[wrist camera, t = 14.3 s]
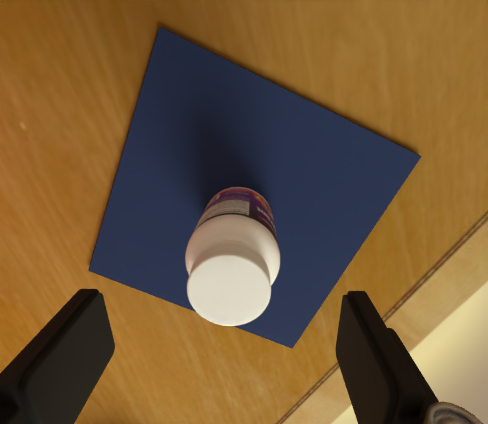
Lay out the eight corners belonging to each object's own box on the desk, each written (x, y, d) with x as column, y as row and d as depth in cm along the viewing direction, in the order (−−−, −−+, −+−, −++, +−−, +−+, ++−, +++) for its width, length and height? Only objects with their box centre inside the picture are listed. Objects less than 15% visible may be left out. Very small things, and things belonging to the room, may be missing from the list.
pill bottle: (278, 242, 23) (294, 330, 14) (214, 253, 23) (188, 345, 14) (266, 178, 21) (275, 230, 12) (197, 192, 21) (155, 251, 12)
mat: (161, 27, 18) (159, 25, 18) (418, 155, 20) (421, 156, 20) (90, 268, 25) (88, 270, 24) (291, 345, 27) (292, 348, 27)
